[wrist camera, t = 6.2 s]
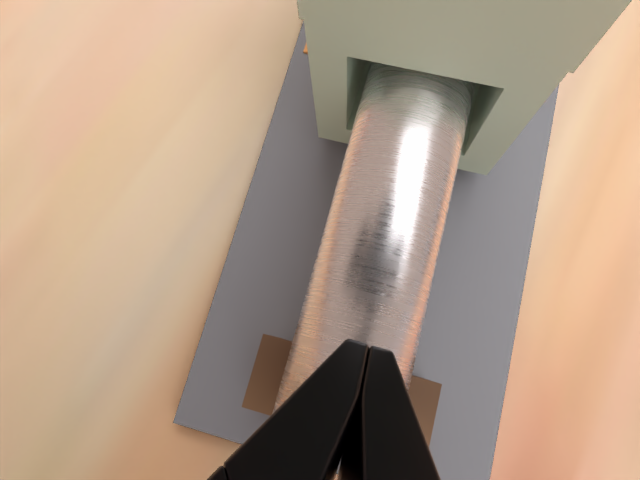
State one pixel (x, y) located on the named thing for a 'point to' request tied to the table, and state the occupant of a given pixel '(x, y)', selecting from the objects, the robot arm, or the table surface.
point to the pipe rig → (375, 262)
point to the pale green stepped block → (452, 57)
